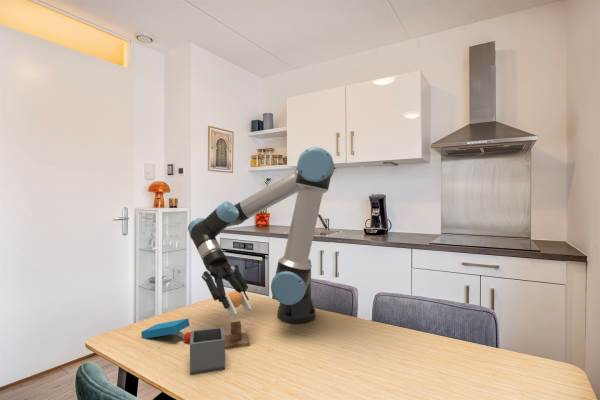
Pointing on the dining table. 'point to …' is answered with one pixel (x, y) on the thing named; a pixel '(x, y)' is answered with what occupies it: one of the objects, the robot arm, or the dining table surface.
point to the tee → (236, 337)
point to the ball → (236, 298)
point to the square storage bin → (207, 350)
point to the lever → (168, 329)
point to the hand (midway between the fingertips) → (242, 313)
